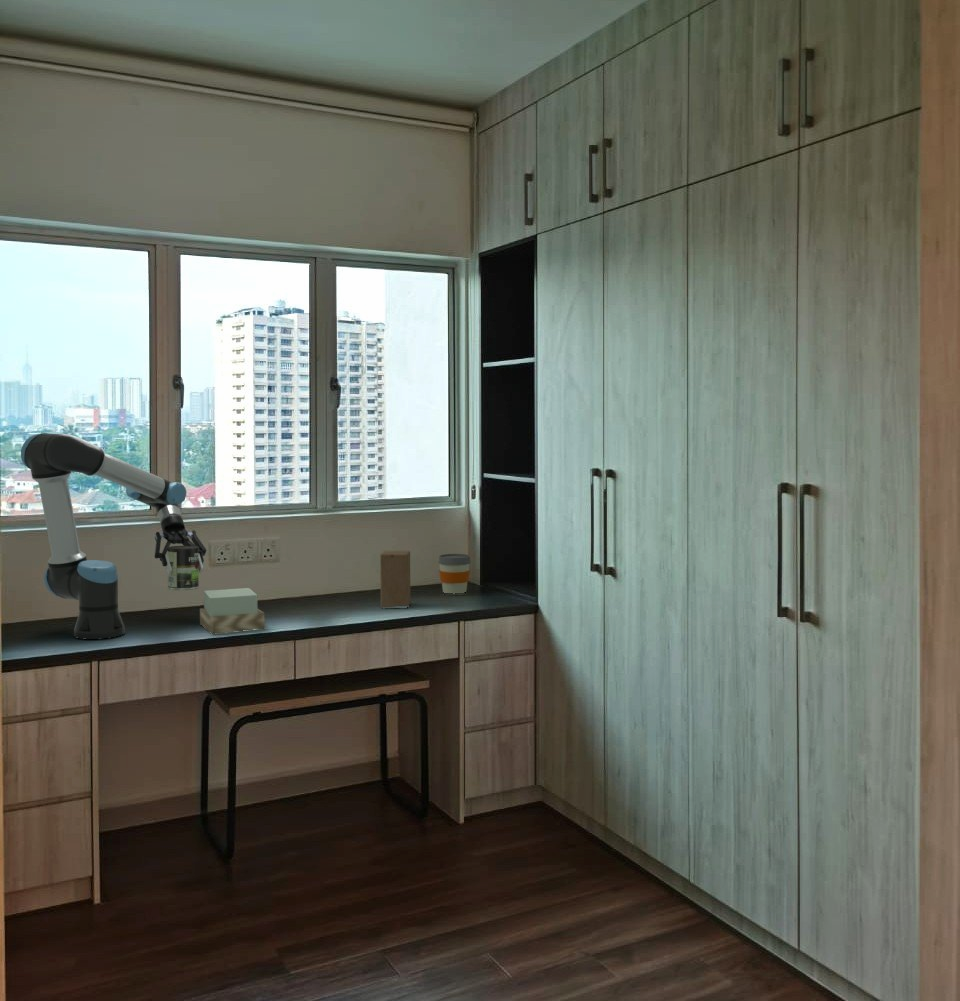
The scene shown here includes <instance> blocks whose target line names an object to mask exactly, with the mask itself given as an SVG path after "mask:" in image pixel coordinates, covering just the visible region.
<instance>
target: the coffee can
mask: <svg viewBox="0 0 960 1001" xmlns="http://www.w3.org/2000/svg"><path fill="white" fill-rule="evenodd" d="M198 549H199V547H198V546H184V545H174V546H173V545H170V546H169V547H167V550H168V551H167V555H168V558H169V561H170V565H171V568H172V572H171V575H168V574H167V589H168V590H171V591H192V590H198V589H199V588H200V585H199V583H200V580H199V569H198Z"/></svg>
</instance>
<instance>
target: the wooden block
mask: <svg viewBox="0 0 960 1001" xmlns="http://www.w3.org/2000/svg"><path fill="white" fill-rule="evenodd" d="M379 556H380V558H379V559H380V561H379V562H380V563H379V564H380V566H379V568H380V570H379V571H380V608H381V607H393V606H394V607H395V606H409V607H410V605H409V603H410V604H411V551H410V550H383V551H382V552H381V553H380V555H379Z"/></svg>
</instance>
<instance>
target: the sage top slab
mask: <svg viewBox="0 0 960 1001" xmlns="http://www.w3.org/2000/svg"><path fill="white" fill-rule="evenodd" d="M203 608H204V609H205V610H206V612H207V613H208V614H209V615H210V617H213V616H227V615H240V614H254V613H258V609H259V608H258V595H257V593H255V592H254V591H253V590H252V589H251V588H250V587H244V588H228V589H211V590H210V589H209V590H203Z"/></svg>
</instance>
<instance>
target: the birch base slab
mask: <svg viewBox="0 0 960 1001" xmlns="http://www.w3.org/2000/svg"><path fill="white" fill-rule="evenodd" d="M265 621H266V620H265V612H264V611H262V610H260V609H259V608H258V613H254V614H240V615H227V616H213V617H210V615H209V614H208V613H207V612H206V610H205V609H204V607H203V608H199V625H200V626H201V625H202V626H203V627H204V628H203V627H202V626H201V627H202V628H203V629H205V630H206V629H207V630H208V631H207V630H206V631H207V632H209V633H210V632H211V633H212V634H214V635H216V634H215V633H224V634H226V633H225V632H233V633H235V632H234V631H243V630H253V629H263V630H265V629H266V628H265V627H266V626H265V624H266V622H265ZM264 628H265V629H264ZM253 631H254V630H253ZM243 632H244V631H243ZM211 633H210V634H211Z"/></svg>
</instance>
